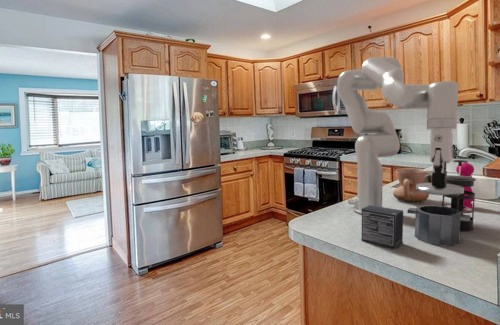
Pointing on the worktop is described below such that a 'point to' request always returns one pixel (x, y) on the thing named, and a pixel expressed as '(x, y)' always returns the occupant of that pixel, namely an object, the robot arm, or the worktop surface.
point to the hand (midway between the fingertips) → (439, 184)
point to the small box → (382, 226)
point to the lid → (440, 188)
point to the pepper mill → (466, 171)
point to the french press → (462, 197)
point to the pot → (438, 224)
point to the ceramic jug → (410, 185)
